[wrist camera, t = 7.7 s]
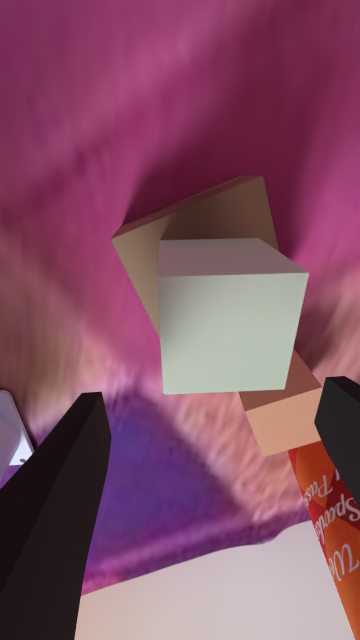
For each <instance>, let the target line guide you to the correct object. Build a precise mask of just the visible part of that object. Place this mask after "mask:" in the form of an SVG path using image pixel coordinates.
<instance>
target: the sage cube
mask: <svg viewBox="0 0 360 640" xmlns="http://www.w3.org/2000/svg"><path fill="white" fill-rule="evenodd" d="M308 276H309V272H307V271H306V270H305V269H303V268H302V267H300V266H299V265H297V264H296V263H294V262H293V261H292V260H290V259H289V258H287V257H286V256H284V255H283V254H281V253H280V252H278V251H277V250H276V249H274V248H273V247H271V246H270V245H268V244H267V243H265V242H264V241H263V240H261V239H260V238H235V239H192V240H160V244H159V257H158V270H157V286H158V305H159V323H160V342H161V360H162V379H163V395H166V394H189V393H212V392H235V391H258V390H281V389H285V385H286V380H287V375H288V371H289V366H290V361H291V356H292V352H293V347H294V342H295V337H296V333H297V328H298V323H299V319H300V314H301V309H302V304H303V300H304V295H305V290H306V286H307V281H308Z"/></svg>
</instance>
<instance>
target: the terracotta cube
mask: <svg viewBox="0 0 360 640" xmlns="http://www.w3.org/2000/svg"><path fill="white" fill-rule="evenodd" d="M322 390H323V388H322V386H321V385H320V383H319V382H318V380H317V379H316V378H315V376H314V375H313V374H312V372H311V371H310V370H309V368H308V367H307V365H306V364H305V363H304V361H303V360H302V359H301V357H300V356H299V355H298V353H297V352H296V351H295V349H294V348H293V352H292V356H291V361H290V366H289V371H288V375H287V380H286V385H285V389H281V390H258V391H238V392H239V395H240V398H241V401H242V404H243V407H244V410H245V413H246V415H247V418H248V420H249V423H250V425H251V428H252V430H253V433H254V435H255V438H256V440H257V443H258V445H259V448H260V450H261V453H262V456H263V457H266V456H269V455H273V454H276V453H279V452H283V451H286V450H290V449H293V448H297V447H300V446H303V445H307V444H310V443H314V442H317V441H321V439H320V436H319V434H318V431H317V429H316V426H315V424H314V420H315V416H316V413H317V409H318V405H319V401H320V398H321V394H322Z"/></svg>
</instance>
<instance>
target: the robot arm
mask: <svg viewBox="0 0 360 640" xmlns="http://www.w3.org/2000/svg"><path fill="white" fill-rule="evenodd" d="M314 424H315V426H316V429H317V431H318V434H319V436H320V439H321V441H322V443H323V445H324V447H325V450H326V452H327V454H328V456H329V457H330V459H331V461H332V463H333V464H334V466H335V468H336V470H337V471H338V473H339V475H340V477H341V478H342V480H343V482H344V483H345V485H346V487H347V488H348V490H349V492H350V494H351V495H352V497H353V499H354V500H355V502H356V504H357V505H358V507H359V509H360V385H359V384H357V383H356V382H354V381H352V380H350V379H349V378H347V377H345V376H339V377H326V379H325V383H324V386H323V390H322V394H321V398H320V401H319V405H318V409H317V413H316V416H315V420H314ZM110 445H111V432H110V428H109V423H108V419H107V414H106V410H105V405H104V401H103V396H102V392H90V393H82V394H81V395H80V396H79V397H78V398H77V399H76V401H75V402H74V403H73V404H72V406H71V407H70V408H69V410H68V411H67V412H66V413H65V415H64V416H63V417H62V418H61V420H60V421H59V422H58V423H57V425H56V426H55V427H54V428H53V430H52V431H51V432H50V433H49V435H48V436H47V437H46V438H45V439H44V441H43V442H42V443H41V444H40V445H39V446H38V448H37V449H36V450H35V451H34V449H33V446H32V444H31V441H30V439H29V437H28V434H27V432H26V429H25V427H24V425H23V422H22V420H21V417H20V415H19V413H18V410H17V408H16V405H15V403H14V401H13V398H12V396H11V394H10V393H9V392H8V391H5V390H0V481H1V480H2V478H3V476H4V474H5V472H6V470H7V468H8V466H9V465H19V464H23V465H22V466H21V467H20V468H19V469H18V470H17V472H16V473H15V474H14V475H13V476H12V477H11V478H10V479H9V480H8V482H7V483H6V484H5V485H4V486H3V487H2V488H1V489H0V640H74V637H75V631H76V623H77V617H78V610H79V604H80V597H81V590H82V584H83V577H84V572H85V567H86V561H87V556H88V552H89V547H90V543H91V539H92V534H93V530H94V526H95V522H96V517H97V513H98V509H99V504H100V500H101V496H102V491H103V487H104V483H105V478H106V474H107V469H108V461H109V454H110Z"/></svg>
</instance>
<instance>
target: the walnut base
mask: <svg viewBox="0 0 360 640" xmlns="http://www.w3.org/2000/svg"><path fill="white" fill-rule="evenodd" d="M235 238H260V239H261V240H263V241H264V242H265V243H267V244H268V245H270V246H271V247H273V248H274V249H276V250H277V251H278V252H279V248H278V244H277V239H276V234H275V229H274V225H273V220H272V215H271V211H270V206H269V201H268V197H267V192H266V187H265V182H264V178H263V176H260V175H240V176H237V177H235V178H232V179H230V180H228V181H225V182H223V183H221V184H218V185H216V186H213V187H211V188H209V189H206V190H204V191H202V192H199V193H197V194H194V195H192V196H190V197H187V198H185V199H183V200H180V201H178V202H176V203H173V204H171V205H168V206H166V207H164V208H161V209H159V210H157V211H154V212H152V213H149V214H147V215H145V216H142V217H140V218H138V219H135V220H133V221H130V222H128V223H126V224H123V225H122V226H121V227H120V228H119V229H118V230H117V232H116V233H115V234H114V235H113V237H112V238H111V239H110V240H111V242H112V244H113V246H114V248H115V250H116V252H117V254H118V256H119V258H120V260H121V262H122V264H123V266H124V268H125V270H126V272H127V274H128V276H129V278H130V280H131V282H132V284H133V286H134V288H135V290H136V292H137V294H138V296H139V298H140V300H141V302H142V304H143V306H144V308H145V310H146V312H147V314H148V316H149V318H150V320H151V322H152V324H153V326H154V328H155V330H156V332H157V334H158V336H159V338H160V323H159V305H158V286H157V270H158V257H159V244H160V240H192V239H235Z"/></svg>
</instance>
